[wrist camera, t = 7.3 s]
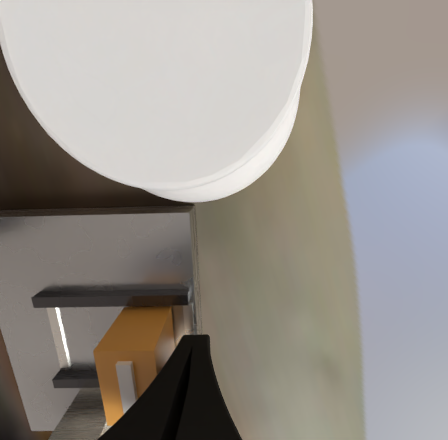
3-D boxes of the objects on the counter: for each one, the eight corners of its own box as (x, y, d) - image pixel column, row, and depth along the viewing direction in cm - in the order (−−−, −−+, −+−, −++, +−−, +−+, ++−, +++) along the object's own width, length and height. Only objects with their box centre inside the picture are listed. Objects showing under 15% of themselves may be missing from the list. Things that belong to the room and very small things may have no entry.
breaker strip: (206, 398, 17) (197, 495, 12) (53, 400, 17) (-16, 496, 12) (194, 205, 13) (176, 230, 8) (4, 209, 13) (-120, 236, 9)
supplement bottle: (147, 163, 13) (-84, 168, 3) (173, 56, 12) (-79, -443, 2) (241, 194, 13) (278, 280, 4) (276, 93, 12) (475, -181, 2)
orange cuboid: (176, 367, 13) (161, 430, 10) (133, 368, 13) (105, 430, 10) (171, 306, 12) (152, 354, 9) (124, 307, 12) (90, 355, 9)
